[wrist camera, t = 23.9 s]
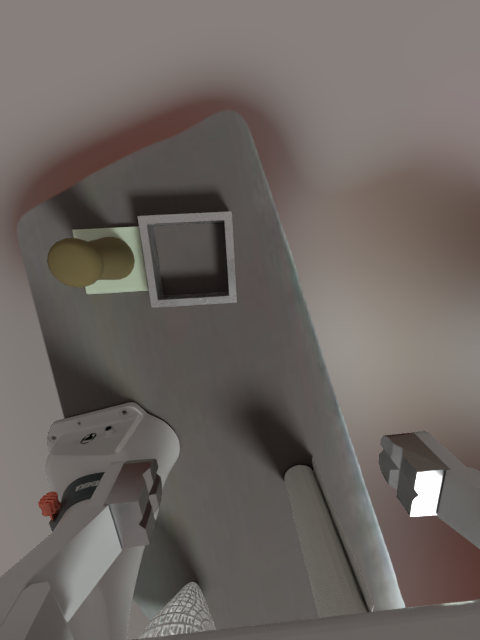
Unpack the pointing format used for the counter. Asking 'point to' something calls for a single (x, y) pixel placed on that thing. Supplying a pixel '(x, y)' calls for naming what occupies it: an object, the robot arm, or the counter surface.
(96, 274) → the olive green rounded piece
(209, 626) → the heart
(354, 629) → the robot arm
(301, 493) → the paper towel roll
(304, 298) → the counter surface
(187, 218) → the frame
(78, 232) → the green pad
